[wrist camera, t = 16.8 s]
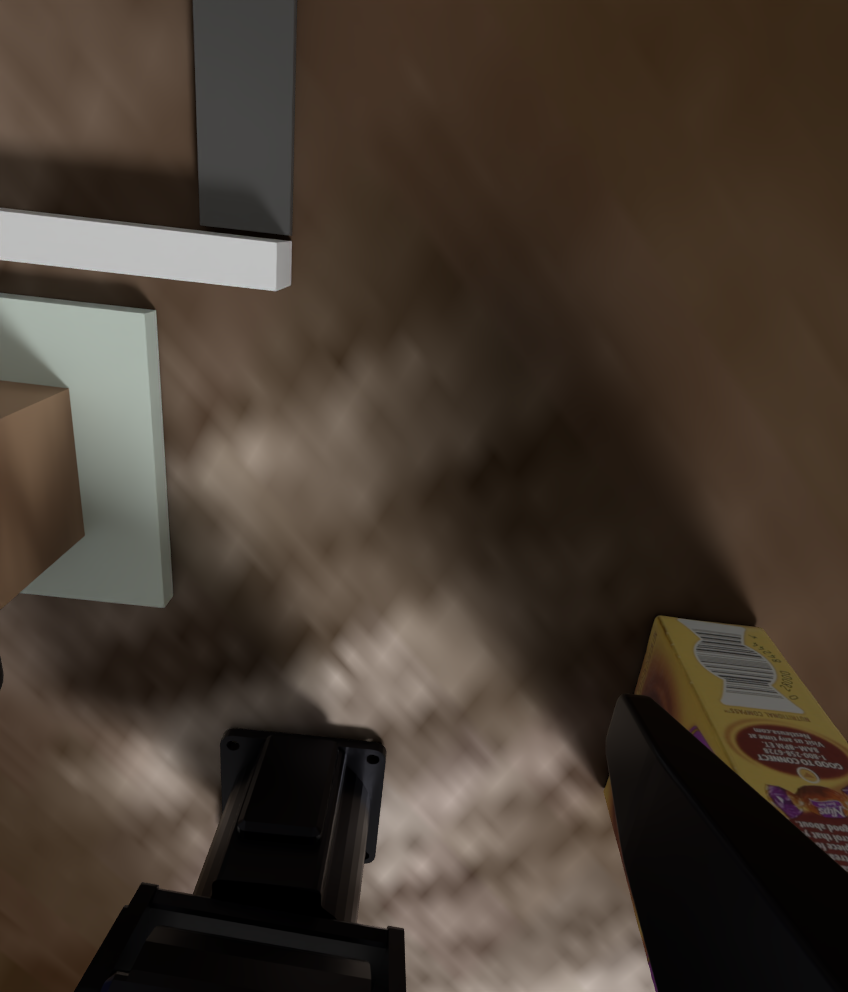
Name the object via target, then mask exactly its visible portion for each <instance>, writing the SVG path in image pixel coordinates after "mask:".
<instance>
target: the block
mask: <svg viewBox="0 0 848 992" xmlns="http://www.w3.org/2000/svg"><path fill="white" fill-rule="evenodd" d="M84 536H85V532H84V523H83V514H82V504H81V495H80V486H79V477H78V468H77V458H76V449H75V440H74V431H73V422H72V412H71V403H70V394H69V388H61V387H53V386H44V385H36V384H28V383H19V382H11V381H3V380H0V610H1V609H2V608H3V607H4V606H5V605H6V604H7V603H9V602H10V601H11V600H12V599H13V598H14V597H15V596H17V595H18V594H19V593H20V592H21V591H22V590H23V589H25V588H26V587H27V586H28V585H29V584H30V583H31V582H33V581H34V580H35V579H36V578H37V577H38V576H39V575H41V574H42V573H43V572H44V571H45V570H46V569H47V568H49V567H50V566H51V565H52V564H53V563H54V562H55V561H57V560H58V559H59V558H60V557H61V556H62V555H63V554H65V553H66V552H67V551H68V550H69V549H70V548H71V547H73V546H74V545H75V544H76V543H77V542H78V541H79V540H81V539H82V538H83V537H84Z"/></svg>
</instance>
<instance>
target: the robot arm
mask: <svg viewBox="0 0 848 992" xmlns="http://www.w3.org/2000/svg"><path fill="white" fill-rule="evenodd" d="M3 677H4V674H3V668H2V663H1V658H0V689H1V687H2V684H3ZM232 741H236V742H237V743H235V742H232ZM220 752H221V786H222V817H221V820H220V822H219V825H218V828H217V830H216V833H215V836H214V838H213V841H212V844H211V846H210V849H209V852H208V855H207V857H206V860H205V863H204V865H203V868H202V871H201V873H200V876H199V879H198V881H197V884H196V887H195V890H194V892H193V894H188V893H182V892H176V891H171V890H165V889H159V885H155V884H150V883H144V882H142V883H141V885H140V886H139V888H138V890H137V892H136V893H135V895H134V897H133V898H132V900H131V902H130V904H129V905H125V906H124V907H123V909H122V910H121V912H120V914H119V916H118V917H117V919H116V921H115V922H114V924H113V926H112V928H111V929H110V931H109V933H108V934H107V936H106V938H105V939H104V941H103V943H102V945H101V946H100V948H99V950H98V951H97V953H96V955H95V957H94V958H93V960H92V962H91V963H90V965H89V967H88V968H87V970H86V972H85V974H84V975H83V977H82V979H81V980H80V982H79V984H78V986H77V987H76V989H75V991H74V992H406V974H405V942H404V928H398V927H393V926H388V927H387V929H386V928H380V927H374V926H369V925H363V924H357V916H358V908H359V900H360V892H361V883H362V875H363V867H364V864H365V863H370V862H372V861H373V860H374V858H375V853H376V844H377V835H378V825H379V816H380V807H381V798H382V789H383V780H384V771H385V762H386V749H385V747H384V746H383V745H381V744H380V743H376V742H367V741H357V740H347V739H337V738H328V737H318V736H308V735H298V734H288V733H278V732H268V731H258V730H248V729H238V728H232V729H229V730H227V731H226V732H225V733H224V735H223V738H222V740H221V743H220ZM370 755H376V756H375V757H373V756H370ZM606 757H607V763H608V770H609V776H610V783H611V789H612V796H613V802H614V808H615V815H616V821H617V828H618V834H619V841H620V846H621V852H622V858H623V862H624V866H625V870H626V874H627V878H628V882H629V886H630V889H631V893H632V897H633V901H634V904H635V908H636V912H637V916H638V920H639V923H640V927H641V931H642V935H643V938H644V942H645V946H646V950H647V953H648V957H649V961H650V965H651V968H652V972H653V976H654V980H655V983H656V987H657V991H658V992H848V872H847V871H846V870H845V869H844V868H842V867H841V866H840V865H839V864H838V863H837V862H836V861H835V860H833V859H832V858H831V857H830V856H829V855H828V854H827V853H826V852H824V851H823V850H822V849H821V848H820V847H819V846H818V845H817V844H815V843H814V842H813V841H812V840H811V839H810V838H809V837H808V836H806V835H805V834H804V833H803V832H802V831H801V830H800V829H799V828H797V827H796V826H795V825H794V824H793V823H792V822H791V821H790V820H788V819H787V818H786V817H785V816H784V815H783V814H782V813H781V812H779V811H778V810H777V809H776V808H775V807H774V806H773V805H772V804H770V803H769V802H768V801H767V800H766V799H765V798H764V797H763V796H761V795H760V794H759V793H758V792H757V791H756V790H755V789H754V788H752V787H751V786H750V785H749V784H748V783H747V782H746V781H745V780H743V779H742V778H741V777H740V776H739V775H738V774H737V773H736V772H734V771H733V770H732V769H731V768H730V767H729V766H728V765H727V764H725V763H724V762H723V761H722V760H721V759H720V758H719V757H718V756H716V755H715V754H714V753H713V752H712V751H711V750H710V749H709V748H707V747H706V746H705V745H704V744H703V743H702V742H701V741H700V740H698V739H697V738H696V737H695V736H694V735H693V734H692V733H691V732H689V731H688V730H687V729H686V728H685V727H684V726H683V725H682V724H680V723H679V722H678V721H677V720H676V719H675V718H674V717H673V716H671V715H670V714H669V713H668V712H667V711H666V710H665V709H664V708H662V707H661V706H660V705H659V704H658V703H657V702H656V701H655V700H653V699H652V698H651V697H649V696H645V695H636V694H626V693H625V694H622V695H620V696H619V698H618V700H617V702H616V705H615V709H614V712H613V716H612V719H611V723H610V726H609V729H608V733H607V737H606Z"/></svg>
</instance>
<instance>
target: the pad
mask: <svg viewBox="0 0 848 992" xmlns="http://www.w3.org/2000/svg"><path fill="white" fill-rule="evenodd" d="M0 380H3V381H11V382H19V383H28V384H36V385H44V386H53V387H61V388H69V394H70V403H71V412H72V422H73V431H74V440H75V449H76V458H77V468H78V477H79V486H80V495H81V504H82V514H83V523H84V532H85V536H84V537H83V538H82V539H81V540H79V541H78V542H77V543H76V544H75V545H74V546H73V547H71V548H70V549H69V550H68V551H67V552H66V553H65V554H63V555H62V556H61V557H60V558H59V559H58V560H57V561H55V562H54V563H53V564H52V565H51V566H50V567H49V568H47V569H46V570H45V571H44V572H43V573H42V574H41V575H39V576H38V577H37V578H36V579H35V580H34V581H33V582H31V583H30V584H29V585H28V586H27V587H26V588H25V589H23V590H22V591H21V592H20V593H24V594H33V595H43V596H53V597H62V598H72V599H82V600H91V601H101V602H111V603H120V604H130V605H140V606H149V607H159V608H165V606H166V605H167V604H168V602H169V601H170V600H171V598H172V597H173V583H172V566H171V550H170V533H169V517H168V500H167V484H166V467H165V450H164V434H163V417H162V401H161V384H160V368H159V351H158V335H157V318H156V310H149V309H141V308H132V307H123V306H114V305H105V304H96V303H87V302H78V301H69V300H60V299H52V298H43V297H34V296H25V295H16V294H7V293H0Z"/></svg>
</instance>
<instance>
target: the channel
mask: <svg viewBox="0 0 848 992" xmlns="http://www.w3.org/2000/svg"><path fill="white" fill-rule="evenodd" d="M193 23H194V54H195V85H196V116H197V148H198V179H199V210H200V225H203V226H211V227H220V228H229V229H237V230H246V231H255V232H263V233H272V234H281V235H292V214H293V167H294V121H295V74H296V27H297V0H193ZM0 260H6V261H15V262H24V263H32V264H41V265H50V266H59V267H68V268H76V269H85V270H94V271H103V272H112V273H121V274H129V275H138V276H147V277H156V278H165V279H173V280H182V281H191V282H200V283H209V284H218V285H226V286H235V287H244V288H253V289H262V290H270V291H278V290H280V289H283V288H285V287H288V286H290V285H291V260H292V241H287V240H279V239H270V238H261V237H253V236H244V235H235V234H226V233H218V232H209V231H200V230H192V229H183V228H174V227H166V226H157V225H148V224H139V223H131V222H122V221H113V220H105V219H96V218H87V217H79V216H70V215H61V214H52V213H44V212H35V211H26V210H18V209H9V208H0Z"/></svg>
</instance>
